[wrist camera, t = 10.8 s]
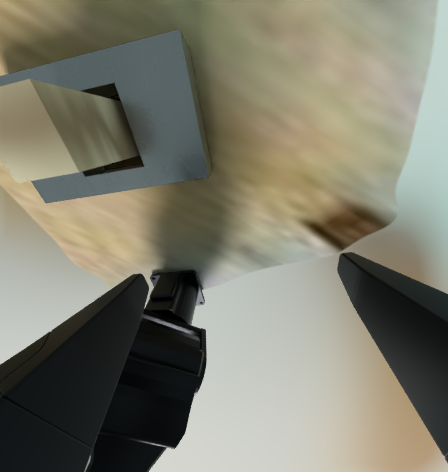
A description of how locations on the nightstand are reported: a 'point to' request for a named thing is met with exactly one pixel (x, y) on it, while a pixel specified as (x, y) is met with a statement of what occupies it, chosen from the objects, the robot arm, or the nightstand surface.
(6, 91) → the ash peg
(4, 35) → the nightstand surface
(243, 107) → the nightstand surface
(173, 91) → the grey slotted block
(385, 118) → the nightstand surface
